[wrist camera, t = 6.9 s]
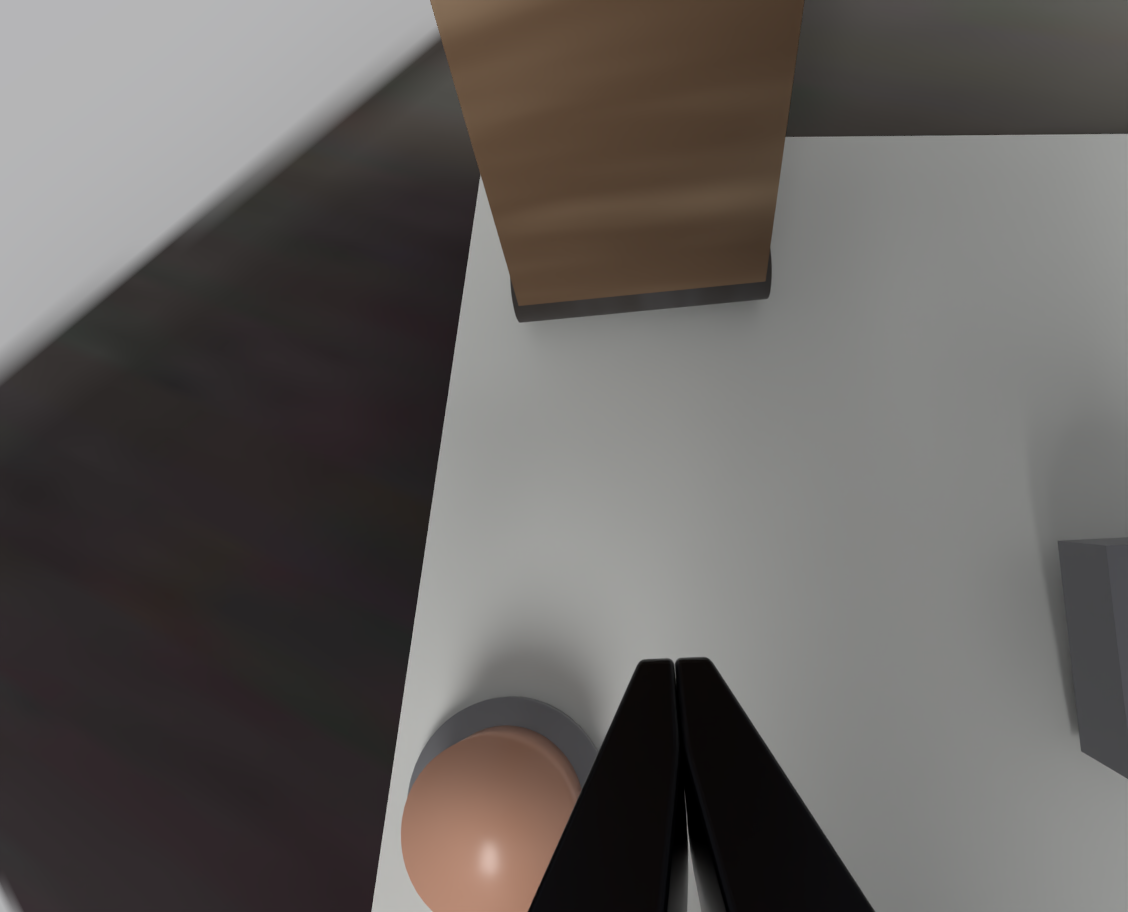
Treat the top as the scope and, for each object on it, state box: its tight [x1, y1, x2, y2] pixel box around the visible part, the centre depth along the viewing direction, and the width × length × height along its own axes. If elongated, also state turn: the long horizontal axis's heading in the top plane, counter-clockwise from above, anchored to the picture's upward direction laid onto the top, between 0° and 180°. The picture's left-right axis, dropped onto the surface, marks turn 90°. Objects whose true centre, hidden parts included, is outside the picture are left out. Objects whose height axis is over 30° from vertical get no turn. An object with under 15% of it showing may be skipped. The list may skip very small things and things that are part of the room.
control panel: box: [372, 134, 1128, 912], centre depth 17 cm, size 22×20×2 cm
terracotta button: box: [401, 725, 582, 912], centre depth 15 cm, size 4×4×2 cm
